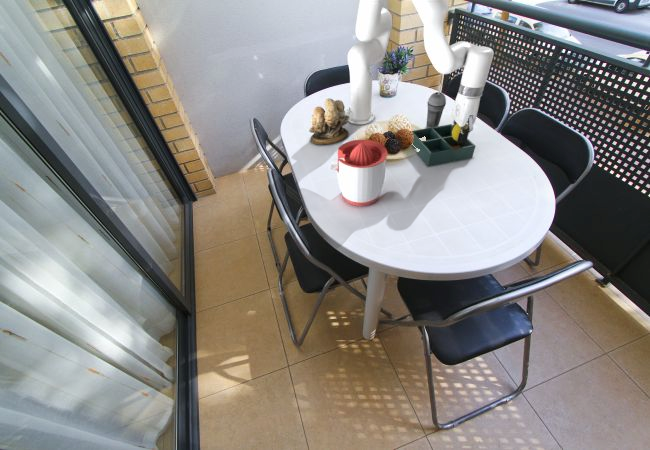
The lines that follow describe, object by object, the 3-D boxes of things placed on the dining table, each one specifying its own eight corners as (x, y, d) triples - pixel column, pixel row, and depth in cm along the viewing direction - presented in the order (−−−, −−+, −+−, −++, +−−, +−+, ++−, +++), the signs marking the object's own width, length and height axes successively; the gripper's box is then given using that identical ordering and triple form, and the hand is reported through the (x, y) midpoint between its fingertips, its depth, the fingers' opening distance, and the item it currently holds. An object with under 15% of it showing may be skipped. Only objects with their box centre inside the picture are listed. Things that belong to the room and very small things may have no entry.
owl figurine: (342, 126, 143) (341, 88, 131) (355, 137, 135) (355, 98, 123) (306, 136, 138) (301, 98, 126) (317, 149, 131) (313, 109, 118)
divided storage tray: (428, 166, 117) (430, 154, 113) (408, 142, 130) (410, 131, 126) (471, 158, 119) (475, 145, 115) (448, 135, 132) (451, 123, 128)
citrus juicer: (332, 182, 114) (330, 131, 100) (381, 181, 113) (385, 129, 98) (332, 211, 103) (329, 159, 89) (386, 210, 101) (391, 156, 87)
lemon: (457, 147, 116) (462, 126, 110) (446, 140, 119) (451, 120, 114) (468, 142, 117) (474, 122, 112) (457, 136, 121) (462, 116, 115)
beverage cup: (439, 124, 138) (448, 77, 124) (441, 133, 133) (452, 84, 119) (422, 125, 139) (429, 78, 125) (424, 133, 134) (432, 85, 120)
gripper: (451, 80, 111) (441, 128, 123) (469, 101, 98) (456, 151, 111) (472, 78, 111) (460, 126, 123) (493, 99, 98) (477, 150, 111)
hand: (458, 138), depth 117 cm, fingers closed on lemon, 5 cm apart
